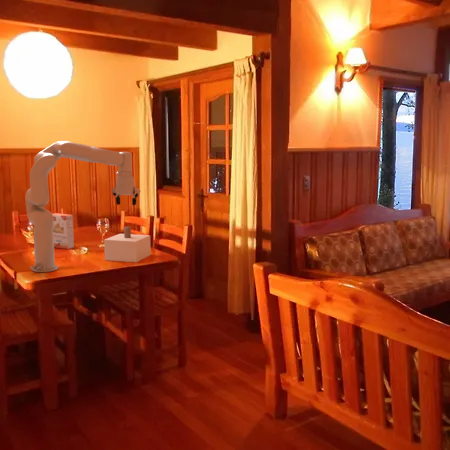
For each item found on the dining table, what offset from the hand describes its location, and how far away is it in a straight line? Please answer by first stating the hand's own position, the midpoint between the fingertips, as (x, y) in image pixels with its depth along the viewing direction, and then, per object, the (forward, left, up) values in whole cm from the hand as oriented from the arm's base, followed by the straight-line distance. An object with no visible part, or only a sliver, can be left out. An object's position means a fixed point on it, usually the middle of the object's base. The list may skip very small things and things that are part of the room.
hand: (126, 204), depth 294 cm
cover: (0, 0, -30) cm, 30 cm away
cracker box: (+13, +51, -31) cm, 61 cm away
